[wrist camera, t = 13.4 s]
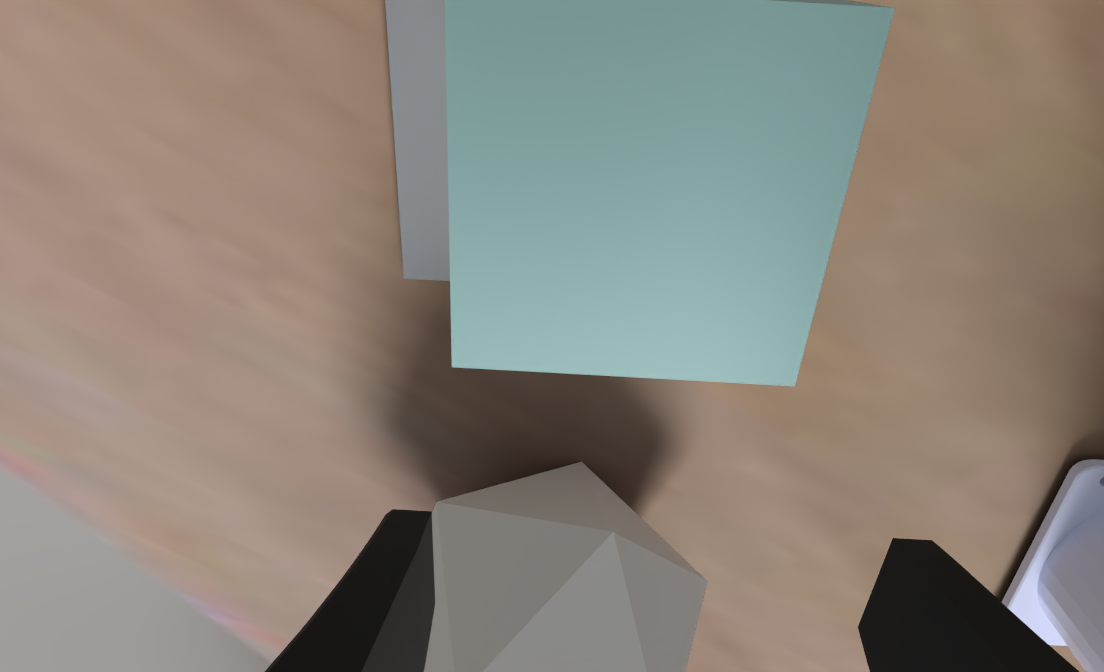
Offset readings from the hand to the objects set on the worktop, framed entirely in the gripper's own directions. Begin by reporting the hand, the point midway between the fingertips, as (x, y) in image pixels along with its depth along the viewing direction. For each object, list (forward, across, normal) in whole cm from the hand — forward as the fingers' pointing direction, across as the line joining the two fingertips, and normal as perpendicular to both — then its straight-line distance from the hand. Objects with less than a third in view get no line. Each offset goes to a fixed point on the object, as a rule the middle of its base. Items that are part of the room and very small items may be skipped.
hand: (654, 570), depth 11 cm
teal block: (+4, +1, -6) cm, 7 cm away
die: (+10, +2, +8) cm, 13 cm away
